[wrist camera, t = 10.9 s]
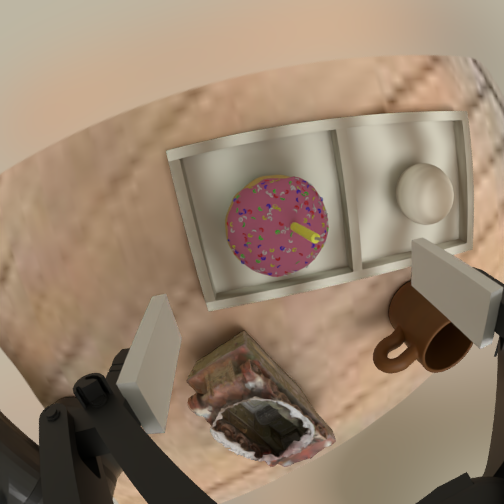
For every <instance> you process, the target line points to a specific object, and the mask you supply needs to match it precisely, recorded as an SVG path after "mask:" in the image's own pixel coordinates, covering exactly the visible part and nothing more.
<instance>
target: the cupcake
mask: <svg viewBox="0 0 504 504" xmlns="http://www.w3.org/2000/svg"><path fill="white" fill-rule="evenodd" d="M321 198H322V197H320V195H319V194H318V192H317V191H316V190H315V188H314V187H313V186H312V184H311V183H308V182H307V181H305V180H304V179H302V178H299V177H295V176H293V177H289V176H285V175H270V176H262V177H259V178H256V179H254V180H253V181H251V182H250V183H249V184H247V185H246V186H245V187H244V188H243V189H242V190H241V191H239V192H238V193H237V194H236V195H235V196H234V197H233V199H232V202H231V204H230V207H229V209H228V212H227V215H226V218H225V229H226V238H227V242H228V244H229V247H230V248H231V250H232V252H233V254H234V255H235V256H236V258H237V259H238V260H239V261H241V263H242V264H245V265H246V266H247V267H249V268H250V269H251V270H253V271H255V272H258V273H261V274H264V275H268V276H272V277H280V276H287V275H288V274H295V272H296V271H299V270H301V269H303V268H304V267H306V268H308V266H309V264H310V263H311V262H312V261H313V260H314V259H315V258H316V256H317V255H318V254H319V252H320V251H321V249H322V248H323V247H324V244H325V243H326V242H325V241H326V239H327V235H328V230H329V226H328V213H327V211H326V209H325V206H324V203H323V198H322V199H321Z"/></svg>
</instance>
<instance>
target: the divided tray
mask: <svg viewBox="0 0 504 504" xmlns="http://www.w3.org/2000/svg"><path fill="white" fill-rule="evenodd" d="M166 154H167V158H168V162H169V166H170V171H171V175H172V179H173V183H174V187H175V191H176V195H177V199H178V203H179V207H180V211H181V215H182V219H183V223H184V227H185V230H186V234H187V238H188V242H189V245H190V249H191V253H192V256H193V260H194V263H195V267H196V271H197V274H198V278H199V281H200V284H201V288H202V291H203V295H204V298H205V301H206V305H207V308H208V311H213V310H218V309H224V308H229V307H234V306H240V305H245V304H250V303H255V302H260V301H265V300H270V299H274V298H279V297H284V296H289V295H293V294H298V293H303V292H307V291H312V290H316V289H321V288H325V287H329V286H334V285H338V284H342V283H347V282H351V281H355V280H359V279H363V278H368V277H372V276H376V275H380V274H384V273H388V272H392V271H396V270H399V269H403V268H407V267H411V266H412V246H411V240H414V239H418V238H422V237H423V238H425V239H426V240H428V241H430V242H432V243H433V244H435V245H437V246H438V247H440V248H442V249H443V250H445V251H447V252H448V253H450V254H452V255H455V254H458V253H462V252H465V251H469V250H472V248H473V226H474V185H473V163H472V150H471V139H470V129H469V121H468V114H467V111H428V112H403V113H387V114H374V115H362V116H352V117H343V118H334V119H326V120H318V121H311V122H303V123H297V124H290V125H284V126H278V127H272V128H266V129H261V130H255V131H250V132H245V133H240V134H235V135H230V136H225V137H221V138H216V139H212V140H207V141H203V142H199V143H195V144H190V145H186V146H182V147H178V148H175V149H171V150H167V151H166ZM420 163H427V164H431V165H434V166H436V167H438V168H440V169H441V170H442V171H443V172H444V173H445V174H446V175H447V176H448V178H449V180H450V181H451V184H452V187H453V192H454V199H453V204H452V207H451V209H450V211H449V213H448V214H447V216H446V217H445V218H443V219H442V220H441V221H439V222H437V223H435V224H431V225H422V224H418V223H415V222H413V221H411V220H410V219H408V218H407V217H406V216H405V215H404V214H403V212H402V211H401V209H400V207H399V205H398V203H397V198H396V187H397V183H398V180H399V178H400V176H401V175H402V173H403V172H404V171H405V170H406V169H408V168H409V167H411V166H413V165H415V164H420ZM270 175H285V176H289V177H293V176H295V177H299V178H302V179H304V180H305V181H307V182H308V183H311V184H312V186H313V187H314V188H315V190H316V191H317V192H318V194H319V195H320V197H322V198H323V203H324V206H325V209H326V211H327V213H328V226H329V230H328V235H327V239H326V241H325V242H326V243H325V244H324V247H323V248H322V249H321V251H320V252H319V254H318V255H317V256H316V258H315V259H314V260H313V261H312V262H311V263H310V264H309V266H308V268H306V267H304V268H303V269H301V270H299V271H296V272H295V274H288V275H287V276H280V277H272V276H268V275H264V274H261V273H258V272H255V271H253V270H251V269H250V268H249V267H247V266H246V265H245V264H242V263H241V261H239V260H238V259H237V258H236V256H235V255H234V254H233V252H232V250H231V248H230V247H229V244H228V242H227V238H226V229H225V218H226V215H227V212H228V209H229V207H230V204H231V202H232V199H233V197H234V196H235V195H236V194H237V193H238V192H239V191H241V190H242V189H243V188H244V187H245V186H246V185H247V184H249V183H250V182H251V181H253V180H254V179H256V178H259V177H262V176H270ZM322 198H321V199H322Z"/></svg>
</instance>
